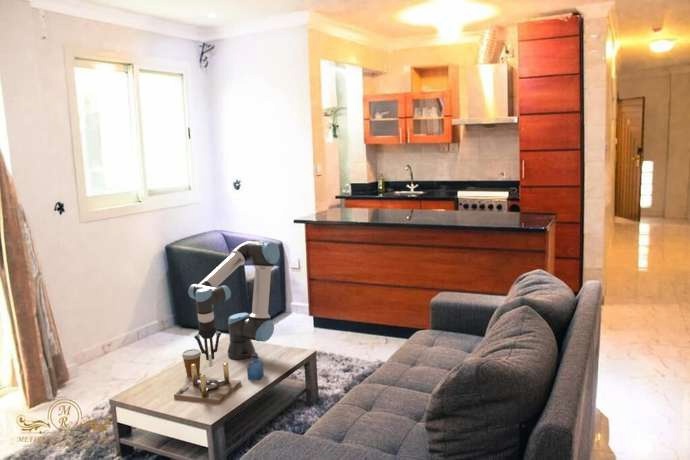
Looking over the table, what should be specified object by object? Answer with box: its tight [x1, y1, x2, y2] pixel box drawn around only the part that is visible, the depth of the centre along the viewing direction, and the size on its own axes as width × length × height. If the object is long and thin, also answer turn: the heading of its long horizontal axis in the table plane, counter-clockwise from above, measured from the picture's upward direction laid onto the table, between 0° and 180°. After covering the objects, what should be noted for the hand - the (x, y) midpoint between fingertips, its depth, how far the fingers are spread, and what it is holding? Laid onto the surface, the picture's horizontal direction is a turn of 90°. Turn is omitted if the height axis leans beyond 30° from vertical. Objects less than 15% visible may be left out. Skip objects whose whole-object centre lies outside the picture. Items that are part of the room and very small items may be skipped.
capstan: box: [191, 362, 230, 396], centre depth 276 cm, size 16×18×10 cm
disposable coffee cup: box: [181, 348, 202, 378], centre depth 296 cm, size 10×10×12 cm
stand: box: [173, 375, 242, 405], centre depth 276 cm, size 21×24×4 cm
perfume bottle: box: [246, 353, 265, 381], centre depth 289 cm, size 6×6×12 cm
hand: (211, 365), depth 282 cm, fingers closed
